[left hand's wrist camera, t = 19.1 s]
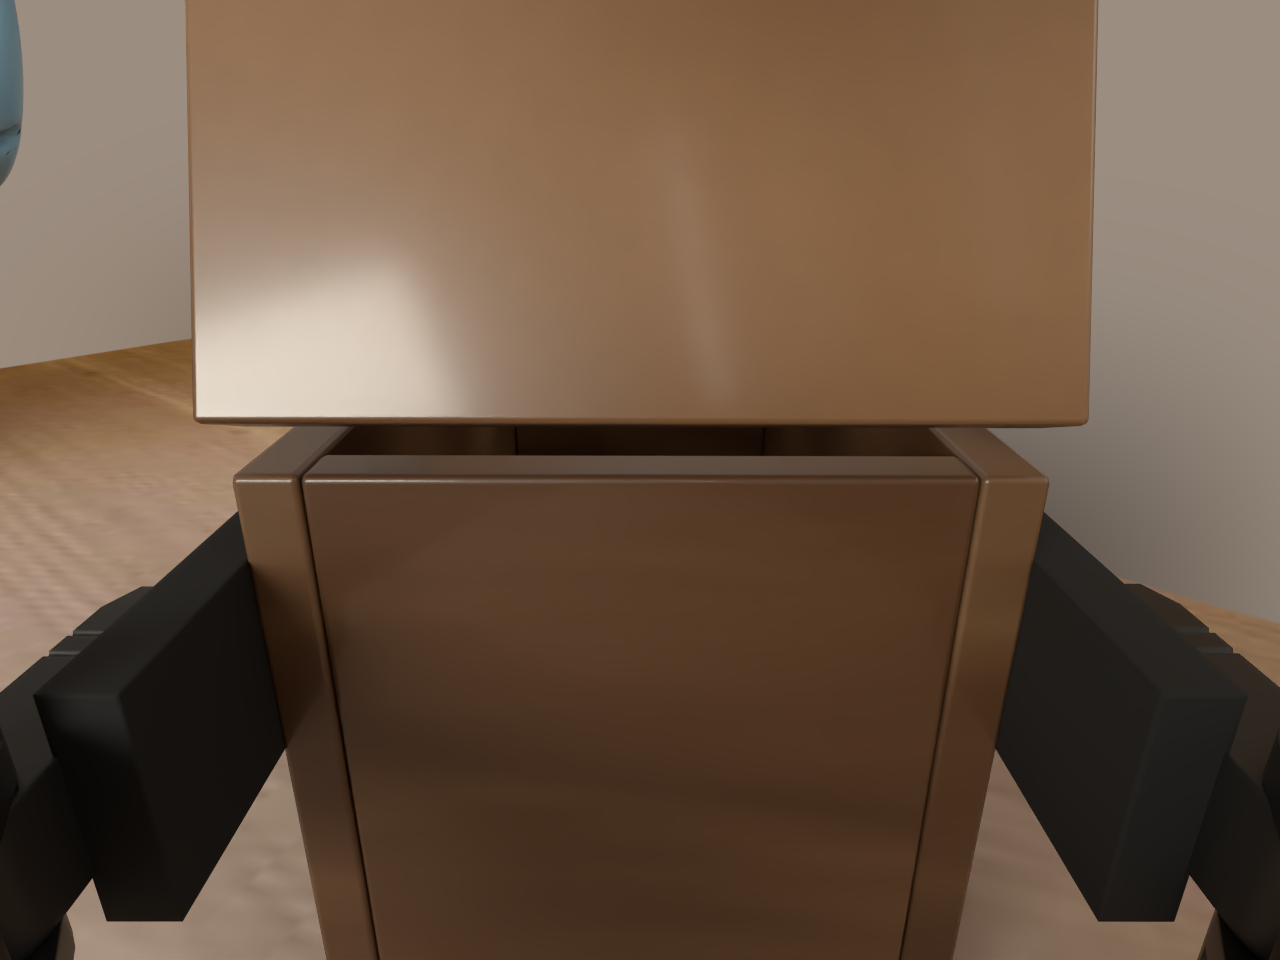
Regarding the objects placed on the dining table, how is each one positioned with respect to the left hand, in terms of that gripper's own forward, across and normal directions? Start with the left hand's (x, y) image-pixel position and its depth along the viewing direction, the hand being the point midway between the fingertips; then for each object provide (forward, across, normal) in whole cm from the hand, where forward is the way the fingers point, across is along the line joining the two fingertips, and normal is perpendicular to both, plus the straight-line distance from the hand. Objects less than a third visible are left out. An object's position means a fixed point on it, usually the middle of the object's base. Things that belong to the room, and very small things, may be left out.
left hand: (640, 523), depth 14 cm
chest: (+4, 0, -7) cm, 8 cm away
